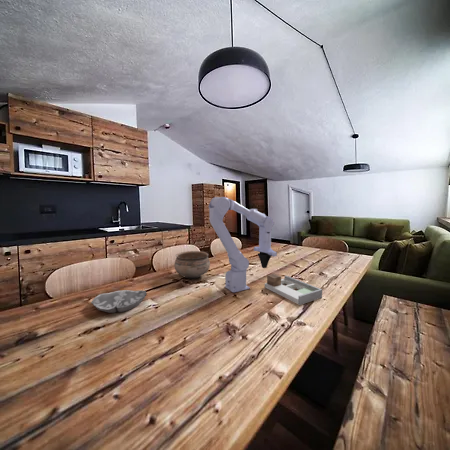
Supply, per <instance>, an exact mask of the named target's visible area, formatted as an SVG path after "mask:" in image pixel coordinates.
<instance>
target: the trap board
mask: <svg viewBox="0 0 450 450" xmlns="http://www.w3.org/2000/svg"><path fill="white" fill-rule="evenodd" d="M264 288H266V289H267V290H269V291H271V292H273V293H275V294H277V295H278V296H281V297H283V298H285V299H287V300H289V301H291V302H293V303H294V304H296V305H299V306H302V305H305V304H306V303H307V304H308V303H310V302H312V301H315V300H316V301H317V300H319V299H321V298H323V288H319V287H316V286H314V285H312V284H309V283H306V282H304V281H301V280H299V279H296V278H294V277H291V276H289V275H284V277H283V278H281V285H278V286H275V287H273V286H271V285H269V284H267V282H265V283H264ZM295 289H297V290H295Z"/></svg>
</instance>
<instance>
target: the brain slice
mask: <svg viewBox="0 0 450 450" xmlns="http://www.w3.org/2000/svg"><path fill="white" fill-rule="evenodd" d="M146 296H147V291H146V290H132V289H131V290H128V289H124V290H123V289H122V290H116V291H111V292H106V293H100V294H98V295H97V296H95V297H94V298H93V299H92V300H91V304H92V305H93V306H94V308H96V309H97V310H98V311H102V312H105V313H108V314H111V313H114V314H115V313H117V312H118V313H124V312H127V311H129V310H132V309H133V308H136V307H137V306H139V305H140V304H141V303H142V302H143V301H144V300H145V298H146Z"/></svg>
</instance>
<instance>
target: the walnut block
mask: <svg viewBox="0 0 450 450" xmlns="http://www.w3.org/2000/svg"><path fill="white" fill-rule="evenodd" d="M266 277H267V278H266V279H267V280H266V283H267V284H269V285H271V286H273V287H275V286H278V285H281V279H282V276H281V275H279V274H275V273H271V274H268V275H266Z"/></svg>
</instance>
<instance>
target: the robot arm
mask: <svg viewBox="0 0 450 450" xmlns="http://www.w3.org/2000/svg"><path fill="white" fill-rule="evenodd" d="M208 210H209V212H208V213H209V216H208V217H209V223H210V225H211V226H212V228H213V230H214V232H215V233H216V235H217V237H218V238H219V240H220V242H221V244H222V246H223V247H224V249H225V251H226V252H227V257H228V263H229V264H230V265H231V266H230V269H229V270H228V271H226V273H225V276H224V277H225V285H224V288H226V289H228V291H230V292H232V293H238V292H241V291H245V290H249V289H250V288H251V287H250V286H248V285H247V271H248V270H247V269H249V266H250V261H249V258H247V257H245V255H244V254H243V253H242V252H241V250H239V248H238V246H237V244H236V243H235V241H234V239H233V237H232V236H231V234H230V232H229V230H228V229H227V227H226V225H225V223H224V221H223V220H224V217H225V215H226V214H227V212H229V211H234V212H237V213H238V214H241V215H243V216H245V217H246V219H247V221H250V222H251V223H253V224H255V225H257V226H258V228H259V230H258V232H259V235H258V239H259V240H258V246H254V247H253V251H254V252H259V253H257V256H258V259H259V260H260V265H261V268H262V269H267V268H268V265H269V261H270V259H271V258H272V257H277V253H278V252H277V251H275V250H273V248H272V247H271V246H272V231H273V226H274V225H275V222H274V220H273V218H272V217H271V216H269V215H268V216H267V215H266V214H265V213H264V212H263V213H262V212H260V211H258V208H250V209H248V208H246V207H245V206H243V205H242V204H240V203H238V202H237V201H235V200H233V199H230V198H228V197H226V196H221V197H220V196H219V197H218V196H214V197H212V199H211V200H210V201H209V204H208Z"/></svg>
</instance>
